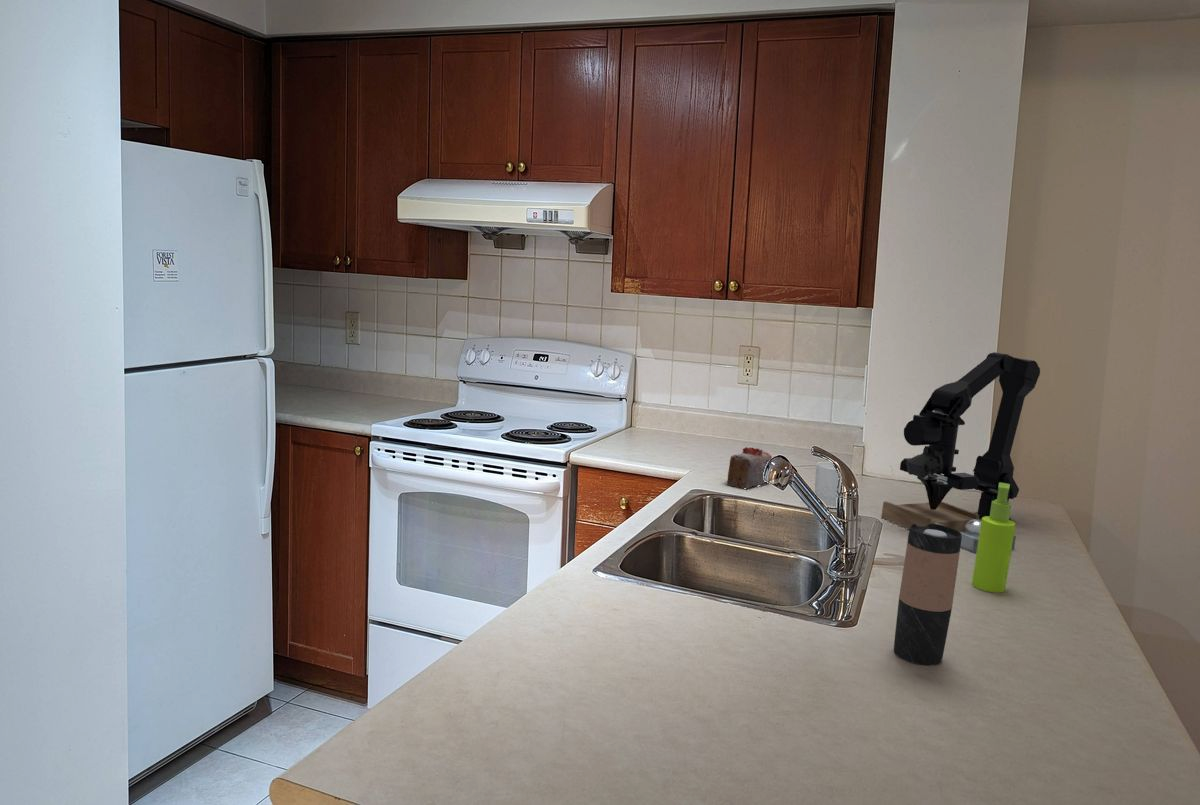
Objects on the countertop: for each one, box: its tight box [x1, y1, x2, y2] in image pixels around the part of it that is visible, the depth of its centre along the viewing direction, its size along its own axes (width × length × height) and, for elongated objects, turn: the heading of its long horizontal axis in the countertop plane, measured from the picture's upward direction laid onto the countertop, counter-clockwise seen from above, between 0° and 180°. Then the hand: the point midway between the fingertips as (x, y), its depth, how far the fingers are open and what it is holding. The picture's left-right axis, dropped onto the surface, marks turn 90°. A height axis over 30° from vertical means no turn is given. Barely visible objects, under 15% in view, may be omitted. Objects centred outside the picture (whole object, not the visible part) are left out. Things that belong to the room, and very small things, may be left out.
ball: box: [964, 519, 982, 538], centre depth 203 cm, size 5×5×5 cm
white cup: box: [814, 461, 850, 507], centre depth 225 cm, size 8×8×10 cm
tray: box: [934, 523, 1017, 554], centre depth 204 cm, size 12×12×3 cm
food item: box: [726, 447, 773, 489], centre depth 240 cm, size 14×8×10 cm, turn 144°
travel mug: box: [893, 523, 962, 666], centre depth 139 cm, size 8×8×20 cm
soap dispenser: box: [971, 482, 1016, 594], centre depth 174 cm, size 6×7×20 cm
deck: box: [881, 500, 980, 532], centre depth 215 cm, size 16×14×4 cm
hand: (933, 509), depth 214 cm, fingers closed
